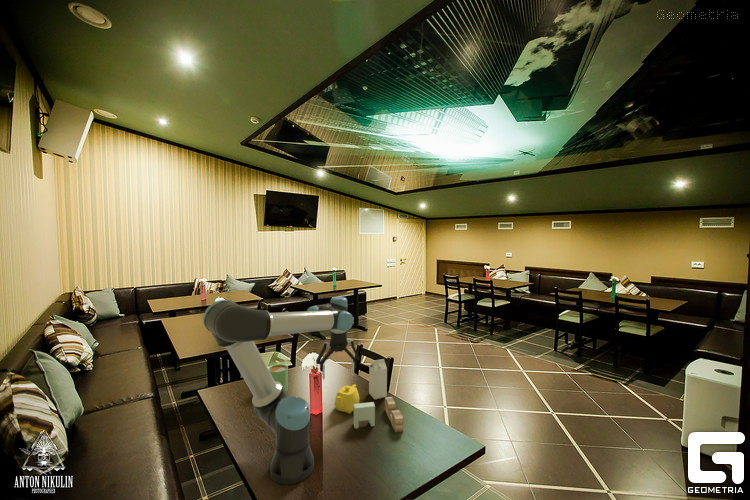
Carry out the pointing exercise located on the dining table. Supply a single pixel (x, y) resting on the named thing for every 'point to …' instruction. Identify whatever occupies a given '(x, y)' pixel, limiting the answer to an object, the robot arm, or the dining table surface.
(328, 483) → the dining table surface
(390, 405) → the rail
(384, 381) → the milk carton
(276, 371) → the mug
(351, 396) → the teapot
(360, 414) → the block
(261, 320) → the robot arm
